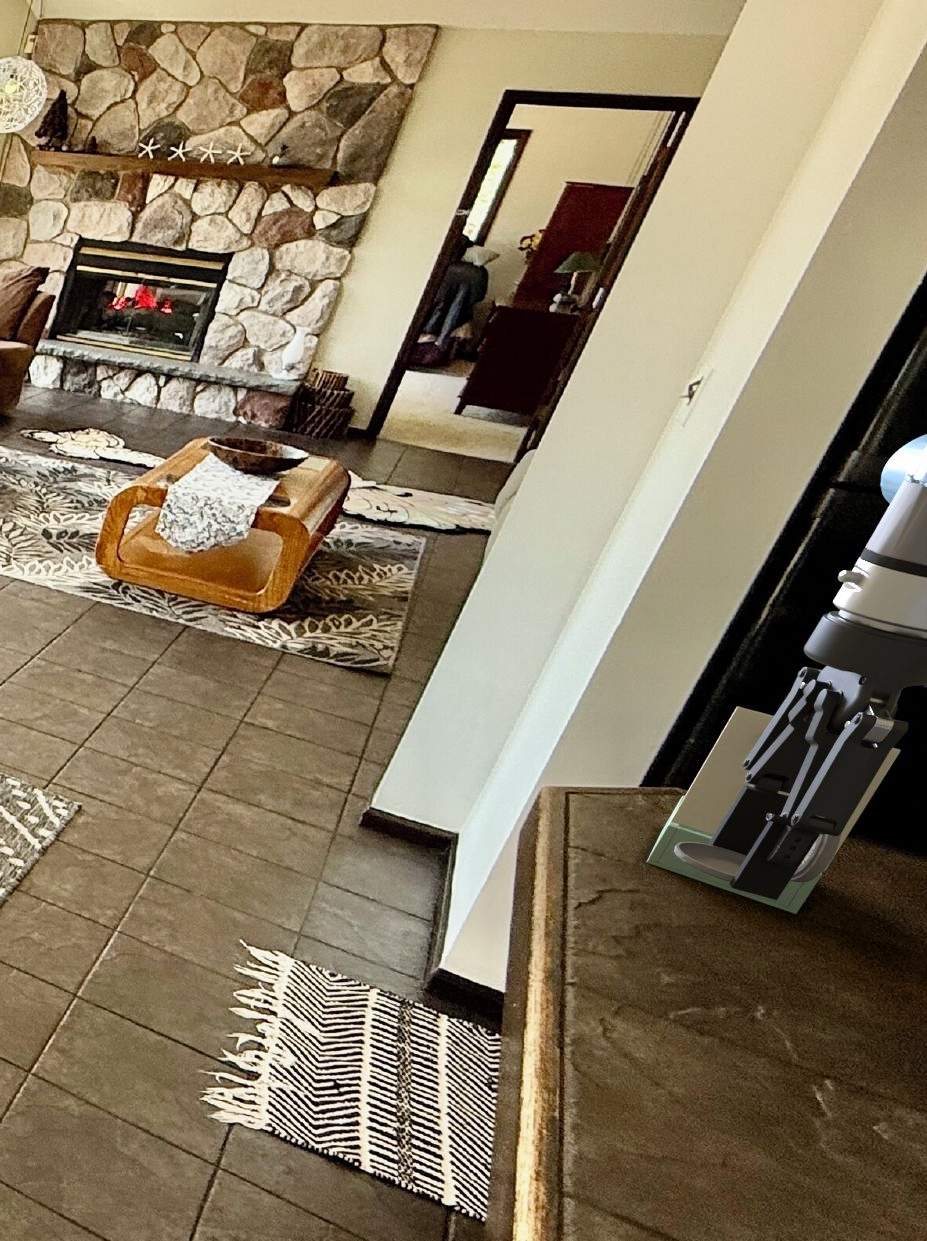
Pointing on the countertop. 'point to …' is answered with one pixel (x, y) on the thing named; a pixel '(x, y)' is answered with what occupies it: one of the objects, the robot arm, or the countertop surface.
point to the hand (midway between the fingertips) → (739, 873)
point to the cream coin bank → (742, 776)
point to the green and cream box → (668, 860)
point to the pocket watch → (728, 862)
